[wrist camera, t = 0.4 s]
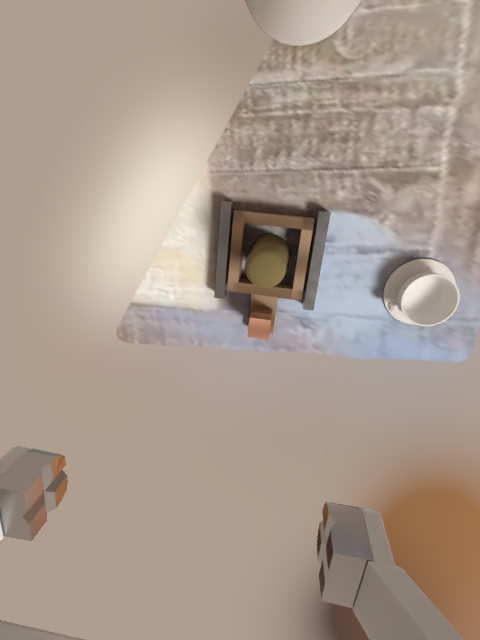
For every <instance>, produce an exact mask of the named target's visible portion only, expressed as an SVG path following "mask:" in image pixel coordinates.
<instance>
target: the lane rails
mask: <svg viewBox="0 0 480 640" xmlns="http://www.w3.org/2000/svg"><path fill="white" fill-rule="evenodd" d="M233 212H234V202H232V201H221V207H220V222H219V237H218V251H217V266H216V281H215V295H214V298H221V299H224V298H225V296H226V295H227V286H228V273H229V261H230V249H231V236H232V224H233ZM330 213H331V212H329V211H320V210H318V213H317V219H316V225H315V232H314V238H313V244H312V250H311V256H310V262H309V268H308V274H307V280H306V286H305V292H304V299H303V309H306V310H313V309H314V303H315V298H316V292H317V286H318V281H319V275H320V269H321V264H322V258H323V252H324V247H325V241H326V236H327V230H328V224H329V219H330Z"/></svg>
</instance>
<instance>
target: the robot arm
mask: <svg viewBox="0 0 480 640" xmlns="http://www.w3.org/2000/svg"><path fill="white" fill-rule="evenodd" d="M245 1H246V4H247V6H248V8H249V11H250V13H251V15H252V17H253V18H254V20H255V21H256V23H257V24H258V25H259V27H260V28H261V29H262V30H263V31H264V32H265V33H266V34H267V35H269V36H270V37H272V38H273V39H275V40H277V41H279V42H281V43H284V44H288V45H295V46H301V45H309V44H313V43H316V42H318V41H321V40H323V39H325V38H326V37H328V36H330V35H331V34H333V33H334V32H335V31H336V30H338V29H339V28H340V27H341V26H342V25H343V24H344V23H345V22H346V20H347V19H348V18H349V17H350V15H351V14H352V13H353V11H354V10H355V8H356V7H357V6H358V4H359V3H360V2H361V1H362V0H245ZM65 465H66V462H65V456H63V455H60V454H55V453H51V452H46V451H41V450H36V449H30V448H25V447H21V446H17V447H14V448H12V449H11V450H10V451H9V452H8V453H7V454H6V455H4V456H3V457H2V458H1V459H0V540H1V539H3V538H4V536H6V537H12V538H18V539H23V540H29V541H32V540H33V539H34V537H35V536H36V535H37V533H38V532H39V530H40V529H41V528H42V527H43V525H44V524H45V523H46V521H47V513H48V512H50V511H52V510H54V509H55V508H57V506H58V505H59V504H60V502H61V500H62V499H63V497H64V494H65V492H66V490H67V483H68V480H67V475H66V474H65V472H64V471H63V470H62V469H63V468H64V466H65ZM322 513H323V521H322V522H320V524H319V529H318V536H317V557H318V560H319V562H320V563H321V568H320V572H319V583H320V595H321V601H325V602H329V603H333V604H338V605H342V606H346V607H350V608H353V611H354V613H355V615H356V616H357V618H358V620H359V622H360V624H361V625H362V627H363V629H364V631H365V632H366V634H367V636H368V638H369V639H370V640H464V639H463V638H462V637H461V636H460V635H459V634H458V633H457V631H456V630H455V629H454V628H453V627H452V626H451V625H450V623H449V622H448V621H447V620H446V619H445V618H444V616H443V615H442V614H441V613H440V612H439V611H438V609H437V608H436V607H435V606H434V605H433V604H432V603H431V601H430V600H429V599H428V598H427V597H426V596H425V594H424V593H423V592H422V591H421V590H420V589H419V587H418V586H417V585H416V584H415V583H414V582H413V581H412V580H411V578H410V577H409V576H408V575H407V574H406V573H405V571H404V570H403V569H402V568H401V567H397V566H395V563H394V559H393V556H392V552H391V549H390V545H389V542H388V539H387V535H386V532H385V528H384V525H383V521H382V518H381V515H380V513H379V512H378V511H376V510H370V509H365V508H358V507H353V506H347V505H341V504H335V503H329V502H325V504H324V507H323V511H322ZM0 640H84V639H80V638H76V637H71V636H67V635H63V634H58V633H54V632H49V631H45V630H41V629H36V628H32V627H28V626H24V625H19V624H14V623H11V622H6V621H2V620H0Z"/></svg>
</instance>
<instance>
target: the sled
mask: <svg viewBox="0 0 480 640" xmlns="http://www.w3.org/2000/svg"><path fill="white" fill-rule="evenodd" d="M314 220H315V219H314V218H313V217H305V216H295V215H286V214H276V213H267V212H257V211H248V210H238V209H237V210H234V214H233V226H232V239H231V251H230V263H229V275H228V288H227V291H231V292H239V293H247V294H251V303H250V312H249V321H248V337H252V338H259V339H267V340H268V338H269V333H273V327H274V319H275V312H276V305H277V297H278V298H286V299H294V300H302V294H303V288H304V282H305V275H306V269H307V263H308V257H309V251H310V245H311V239H312V232H313V226H314ZM246 223H248V224H258V225H267V226H276V227H285V228H294V229H301V231H300V238H299V244H298V251H297V258H296V264H295V271H294V278H293V284H288V283H279V284H277V285H275V286H273V287H271V288H261V287H258V286H256V285H254V284H253V283H252V282H251V281H250V280H249V279H247V278H241V270H242V260H243V249H244V238H245V228H246Z"/></svg>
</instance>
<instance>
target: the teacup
mask: <svg viewBox="0 0 480 640" xmlns="http://www.w3.org/2000/svg"><path fill="white" fill-rule="evenodd" d="M383 299H384V304H385V307H386V309H387V311H388V312H389V313H390V314H391V315H392V316H393V317H394V318H395V319H397V320H399V321H401V322H403V323H407V324H416V325H420V326H433V325H437V324H439V323H442V322H443V321H445V320H447V319H448V318H449V317H450V316H451V315H452V314H453V313H454V311H455V310H456V308H457V306H458V303H459V291H458V288H457V286H456V281H455V278H454V275H453V273H452V272H451V270H450V269H449V268H448V267H447V266H446V265H444V264H443V263H441V262H439V261H436V260H433V259H416V260H412V261H409V262H407V263H405V264H403V265H401V266H400V267H399V268H397V269H396V270H395V271H394V272H393V273H392V274H391V275H390V277H389V278H388V280H387V282H386V284H385V287H384V292H383Z"/></svg>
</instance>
